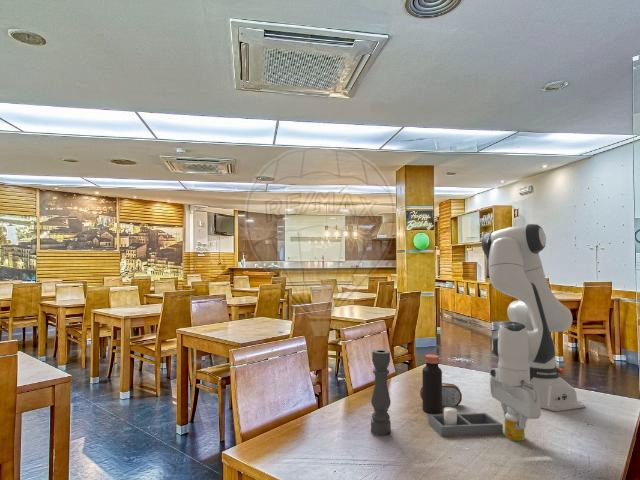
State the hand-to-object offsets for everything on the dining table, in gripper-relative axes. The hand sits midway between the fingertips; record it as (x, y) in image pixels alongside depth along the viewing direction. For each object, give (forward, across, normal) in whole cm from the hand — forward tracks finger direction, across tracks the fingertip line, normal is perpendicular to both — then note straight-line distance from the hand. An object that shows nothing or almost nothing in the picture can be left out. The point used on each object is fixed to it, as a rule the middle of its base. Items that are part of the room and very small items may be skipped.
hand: (514, 422), depth 123 cm
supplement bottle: (+5, 0, 0) cm, 5 cm away
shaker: (+4, +8, +17) cm, 19 cm away
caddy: (+5, +8, +12) cm, 15 cm away
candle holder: (+5, +10, +39) cm, 41 cm away
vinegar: (+5, +24, +16) cm, 29 cm away
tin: (+5, +30, +10) cm, 32 cm away
